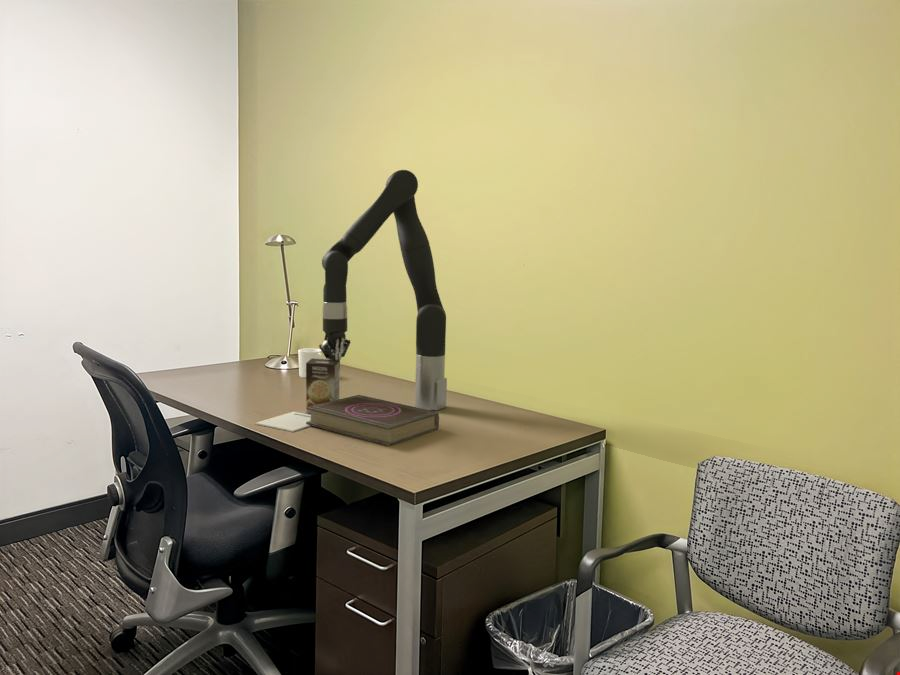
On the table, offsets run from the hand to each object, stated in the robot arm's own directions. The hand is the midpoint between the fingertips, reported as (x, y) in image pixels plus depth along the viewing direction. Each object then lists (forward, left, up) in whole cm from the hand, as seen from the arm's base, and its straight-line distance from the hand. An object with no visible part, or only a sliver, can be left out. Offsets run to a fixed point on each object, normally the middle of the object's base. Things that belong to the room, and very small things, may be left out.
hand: (335, 371), depth 215 cm
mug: (+38, -34, -12) cm, 53 cm away
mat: (0, +19, -12) cm, 23 cm away
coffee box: (0, +6, -12) cm, 13 cm away
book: (-22, +11, -12) cm, 27 cm away
